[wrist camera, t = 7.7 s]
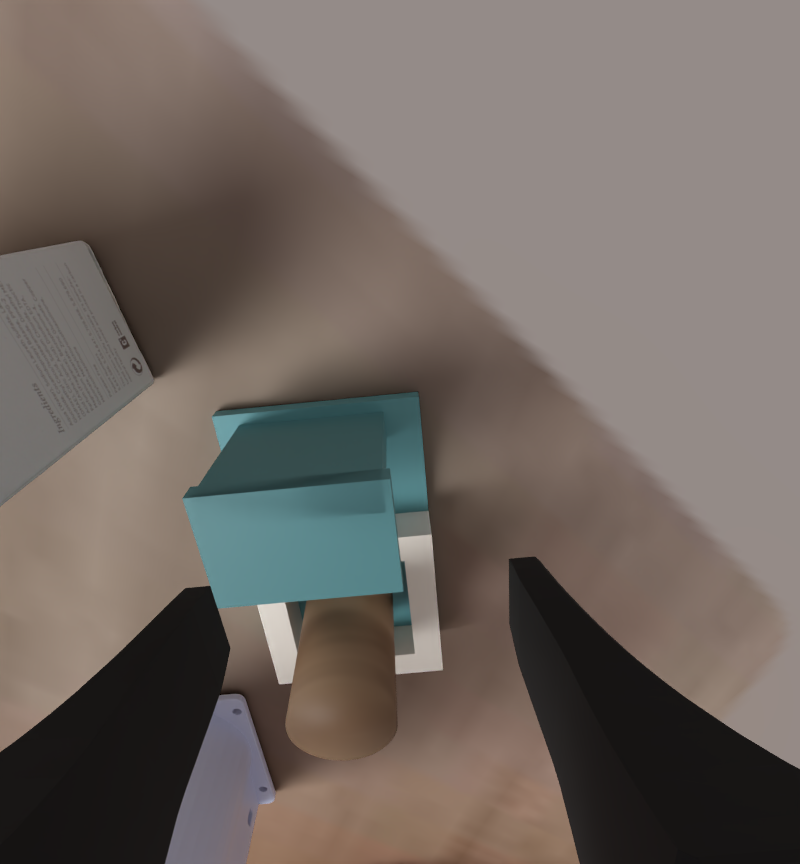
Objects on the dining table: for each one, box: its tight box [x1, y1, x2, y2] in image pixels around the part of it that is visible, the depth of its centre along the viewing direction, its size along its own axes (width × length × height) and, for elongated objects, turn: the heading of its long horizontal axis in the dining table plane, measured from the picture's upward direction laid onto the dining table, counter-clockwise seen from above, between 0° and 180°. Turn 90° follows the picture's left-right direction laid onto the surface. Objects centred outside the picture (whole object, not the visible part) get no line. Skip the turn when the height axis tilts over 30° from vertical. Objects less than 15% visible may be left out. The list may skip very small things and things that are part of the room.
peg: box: [285, 593, 397, 761], centre depth 21 cm, size 4×4×7 cm
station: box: [182, 392, 443, 684], centre depth 21 cm, size 14×8×6 cm, turn 5°
